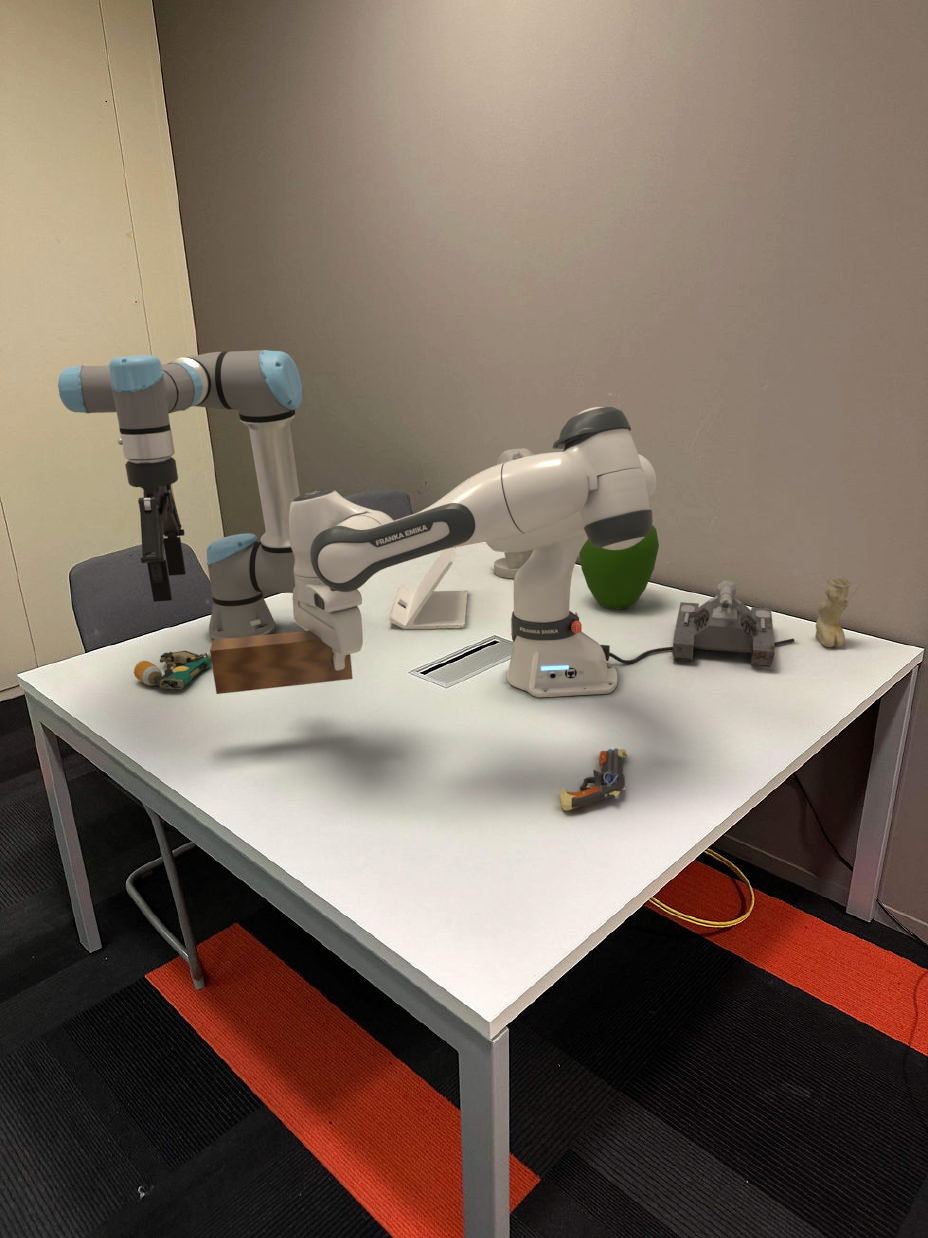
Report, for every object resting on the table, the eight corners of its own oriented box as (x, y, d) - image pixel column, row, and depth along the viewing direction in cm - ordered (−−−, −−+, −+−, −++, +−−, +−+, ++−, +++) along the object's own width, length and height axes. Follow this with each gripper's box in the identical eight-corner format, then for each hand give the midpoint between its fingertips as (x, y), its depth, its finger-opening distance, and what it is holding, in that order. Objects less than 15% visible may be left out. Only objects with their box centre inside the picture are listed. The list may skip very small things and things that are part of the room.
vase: (599, 587, 227) (601, 497, 218) (668, 600, 216) (673, 505, 208) (562, 608, 212) (564, 513, 204) (634, 623, 202) (639, 523, 193)
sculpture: (821, 649, 184) (830, 583, 179) (808, 637, 191) (816, 573, 185) (848, 649, 184) (858, 582, 179) (834, 636, 191) (843, 572, 185)
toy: (679, 621, 202) (683, 561, 196) (768, 628, 196) (775, 566, 191) (671, 664, 179) (675, 596, 174) (772, 673, 174) (779, 603, 168)
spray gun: (177, 659, 191) (231, 671, 185) (120, 684, 176) (176, 698, 171) (176, 641, 190) (230, 653, 184) (118, 665, 175) (174, 678, 169)
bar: (350, 668, 152) (346, 626, 149) (352, 679, 147) (348, 636, 145) (218, 682, 148) (212, 640, 145) (216, 694, 143) (209, 650, 141)
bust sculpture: (503, 593, 225) (502, 460, 212) (483, 567, 247) (480, 445, 234) (562, 587, 228) (563, 456, 215) (536, 562, 250) (536, 441, 237)
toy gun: (557, 799, 128) (625, 797, 126) (566, 745, 146) (626, 743, 144) (559, 815, 129) (626, 814, 126) (568, 760, 146) (627, 757, 144)
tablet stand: (467, 593, 225) (465, 531, 219) (465, 628, 202) (462, 559, 196) (399, 594, 226) (395, 532, 220) (388, 629, 203) (384, 560, 197)
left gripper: (141, 447, 145) (161, 566, 153) (105, 475, 122) (130, 614, 129) (187, 444, 146) (204, 563, 153) (159, 472, 123) (181, 610, 130)
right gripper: (280, 575, 150) (288, 648, 154) (331, 606, 134) (338, 686, 138) (313, 568, 153) (320, 640, 158) (366, 597, 137) (373, 676, 142)
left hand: (170, 587), depth 141 cm, fingers open, 13 cm apart
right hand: (329, 661), depth 148 cm, fingers closed on bar, 6 cm apart
